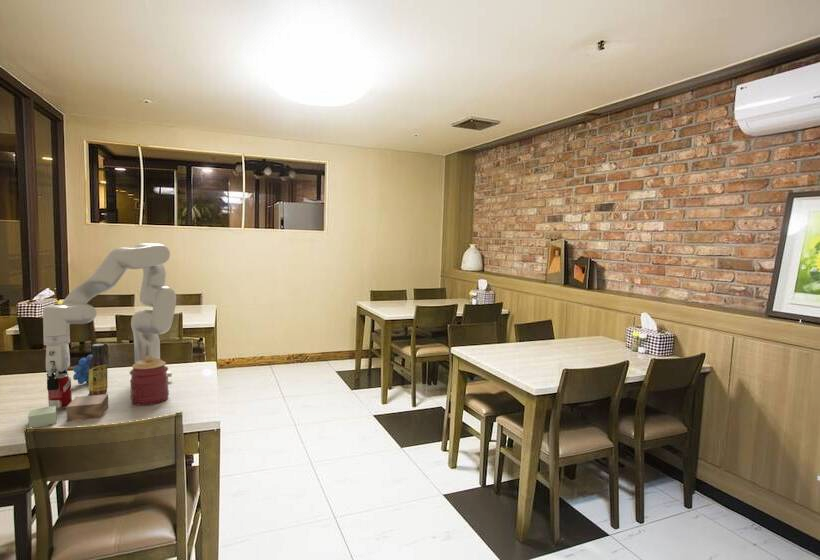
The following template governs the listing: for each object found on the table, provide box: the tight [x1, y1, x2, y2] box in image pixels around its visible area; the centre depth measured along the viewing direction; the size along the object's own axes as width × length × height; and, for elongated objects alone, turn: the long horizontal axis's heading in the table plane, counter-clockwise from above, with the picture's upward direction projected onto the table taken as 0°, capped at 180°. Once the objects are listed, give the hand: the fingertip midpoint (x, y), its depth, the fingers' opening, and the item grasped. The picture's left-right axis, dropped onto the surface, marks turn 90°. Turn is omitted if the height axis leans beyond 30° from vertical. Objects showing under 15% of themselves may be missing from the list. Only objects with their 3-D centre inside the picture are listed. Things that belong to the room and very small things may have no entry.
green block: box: [27, 406, 57, 429], centre depth 154 cm, size 7×7×4 cm
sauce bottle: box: [88, 343, 108, 396], centre depth 182 cm, size 7×6×20 cm
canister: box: [129, 355, 170, 406], centre depth 177 cm, size 13×13×18 cm
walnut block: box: [66, 393, 109, 422], centre depth 162 cm, size 10×10×5 cm
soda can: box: [47, 373, 73, 410], centre depth 167 cm, size 7×7×12 cm
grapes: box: [72, 354, 93, 385], centre depth 195 cm, size 12×7×12 cm, turn 156°
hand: (57, 385), depth 166 cm, fingers open, 9 cm apart
